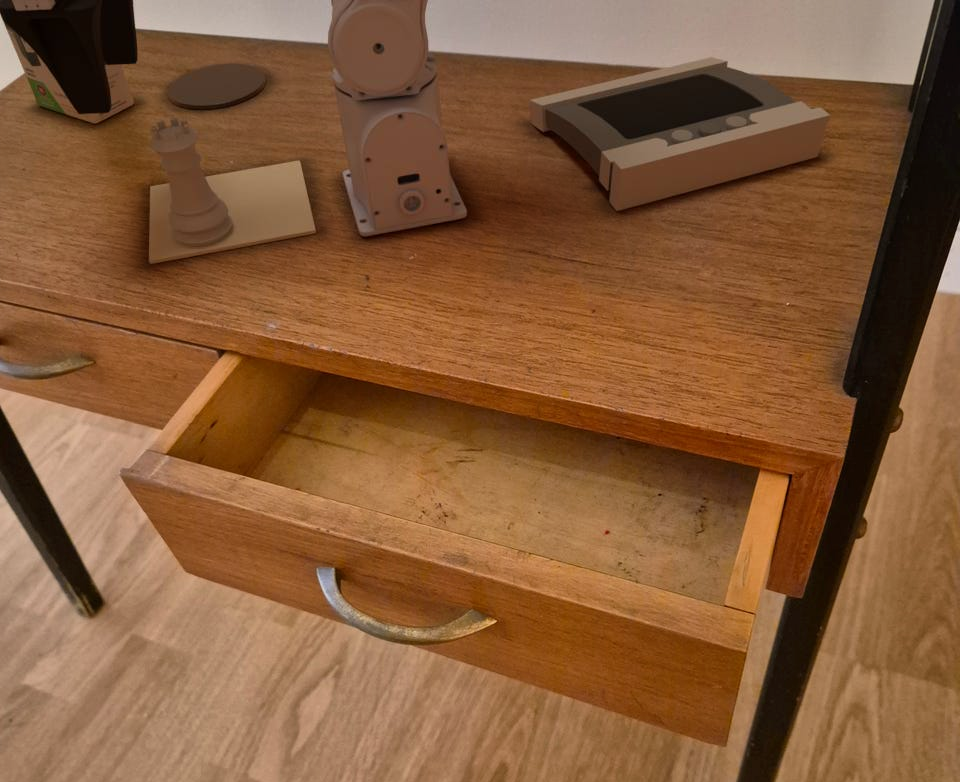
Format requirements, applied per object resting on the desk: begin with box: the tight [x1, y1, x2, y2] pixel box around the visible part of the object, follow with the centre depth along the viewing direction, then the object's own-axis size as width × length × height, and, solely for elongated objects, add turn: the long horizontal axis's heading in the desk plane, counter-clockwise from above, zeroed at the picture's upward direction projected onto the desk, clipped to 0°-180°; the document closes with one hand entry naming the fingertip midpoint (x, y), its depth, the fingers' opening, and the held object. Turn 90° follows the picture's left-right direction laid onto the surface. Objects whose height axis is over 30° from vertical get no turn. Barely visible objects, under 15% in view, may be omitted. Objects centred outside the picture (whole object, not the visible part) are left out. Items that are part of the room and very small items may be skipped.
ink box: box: [1, 18, 135, 125], centre depth 77 cm, size 9×5×12 cm, turn 56°
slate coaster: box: [167, 63, 266, 111], centre depth 82 cm, size 9×9×1 cm
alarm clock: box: [529, 56, 831, 212], centre depth 69 cm, size 17×5×16 cm
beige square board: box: [148, 160, 317, 265], centre depth 67 cm, size 11×12×1 cm
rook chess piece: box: [149, 117, 233, 246], centre depth 61 cm, size 4×4×8 cm
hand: (109, 86), depth 59 cm, fingers open, 7 cm apart
